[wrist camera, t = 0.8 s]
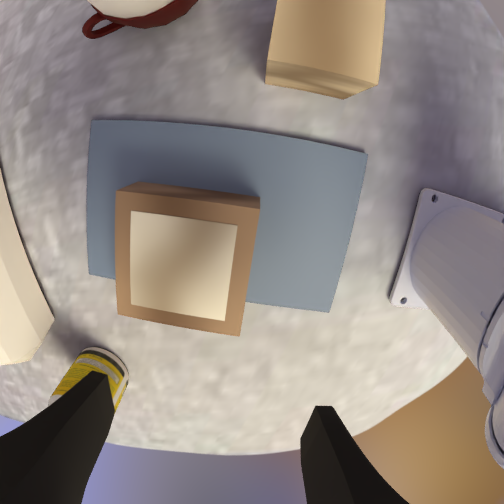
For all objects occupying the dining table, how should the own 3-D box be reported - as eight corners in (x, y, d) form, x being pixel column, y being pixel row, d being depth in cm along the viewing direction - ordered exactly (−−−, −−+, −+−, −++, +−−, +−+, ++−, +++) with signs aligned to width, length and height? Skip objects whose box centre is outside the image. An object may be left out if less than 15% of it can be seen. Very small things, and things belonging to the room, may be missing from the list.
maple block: (351, 32, 14) (385, -3, 9) (343, 99, 15) (378, 84, 10) (276, 16, 14) (282, -28, 8) (265, 83, 15) (267, 59, 10)
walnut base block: (260, 197, 17) (260, 209, 14) (242, 308, 19) (239, 337, 16) (138, 181, 17) (115, 190, 14) (135, 290, 19) (117, 314, 16)
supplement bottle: (74, 341, 22) (23, 410, 14) (123, 349, 22) (79, 430, 14) (89, 383, 23) (51, 451, 15) (135, 392, 23) (104, 469, 15)
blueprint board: (365, 153, 16) (368, 154, 16) (327, 308, 20) (329, 312, 19) (95, 119, 16) (91, 119, 15) (92, 271, 19) (89, 274, 19)
